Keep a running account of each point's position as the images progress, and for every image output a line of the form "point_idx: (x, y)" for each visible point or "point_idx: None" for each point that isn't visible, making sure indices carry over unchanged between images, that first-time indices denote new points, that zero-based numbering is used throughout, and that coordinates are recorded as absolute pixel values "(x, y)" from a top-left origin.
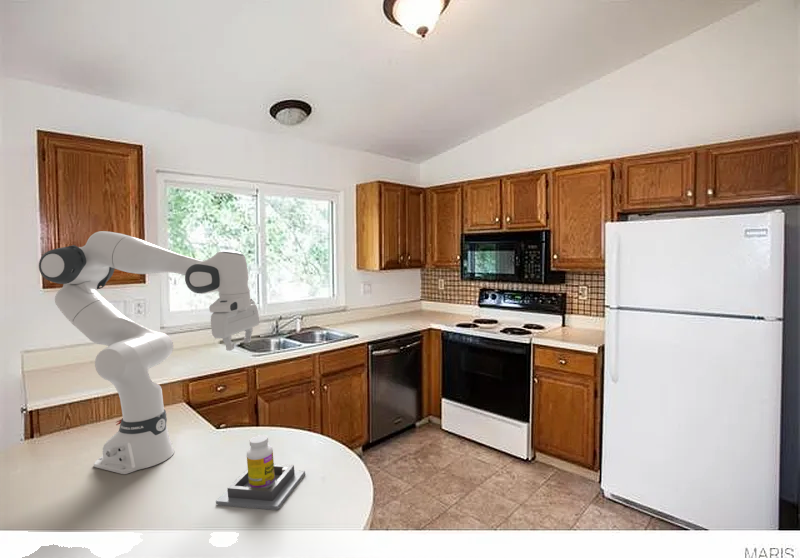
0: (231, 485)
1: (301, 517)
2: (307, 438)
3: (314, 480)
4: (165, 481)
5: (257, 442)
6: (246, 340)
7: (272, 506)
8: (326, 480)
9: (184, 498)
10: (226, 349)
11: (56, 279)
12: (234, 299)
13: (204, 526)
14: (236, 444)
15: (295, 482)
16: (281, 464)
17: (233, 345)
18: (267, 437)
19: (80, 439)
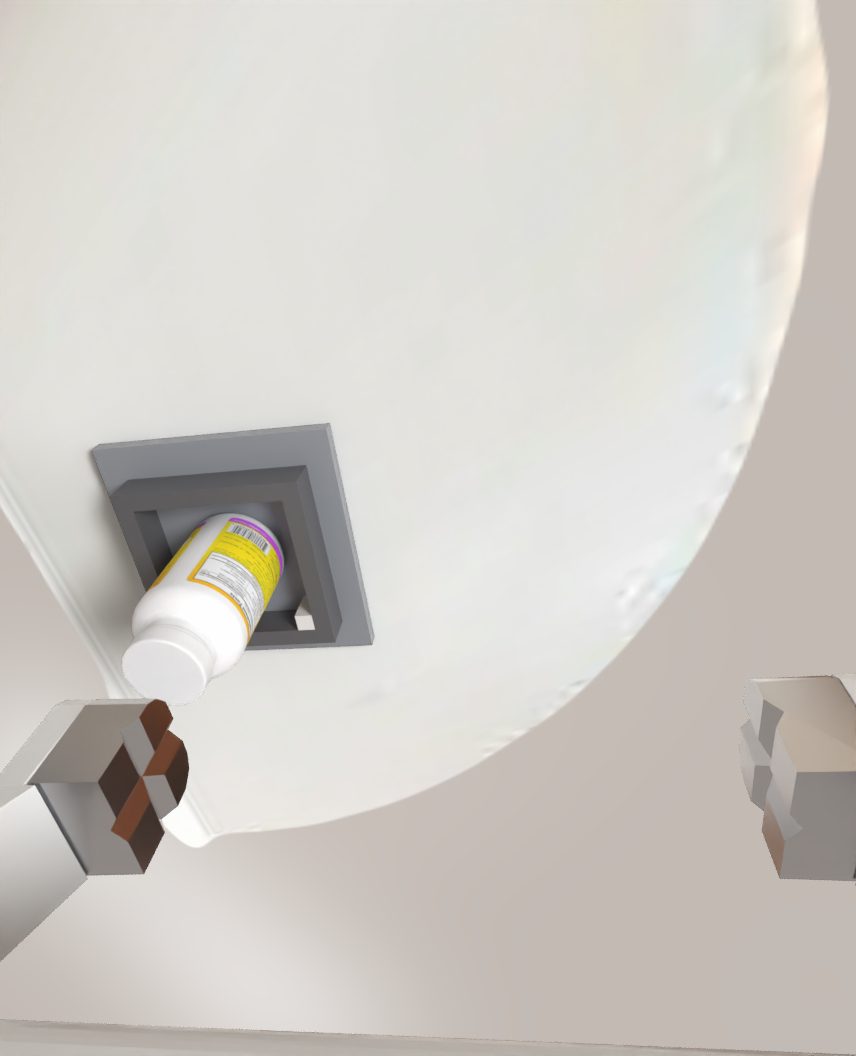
0: (129, 500)
1: (181, 713)
2: (665, 516)
3: (350, 677)
4: (92, 31)
5: (133, 687)
6: (769, 759)
7: None
8: (362, 709)
9: (60, 280)
10: (59, 707)
11: None
12: None
13: (10, 485)
14: (548, 140)
15: (296, 647)
16: (324, 598)
17: (142, 841)
18: (191, 701)
19: None
